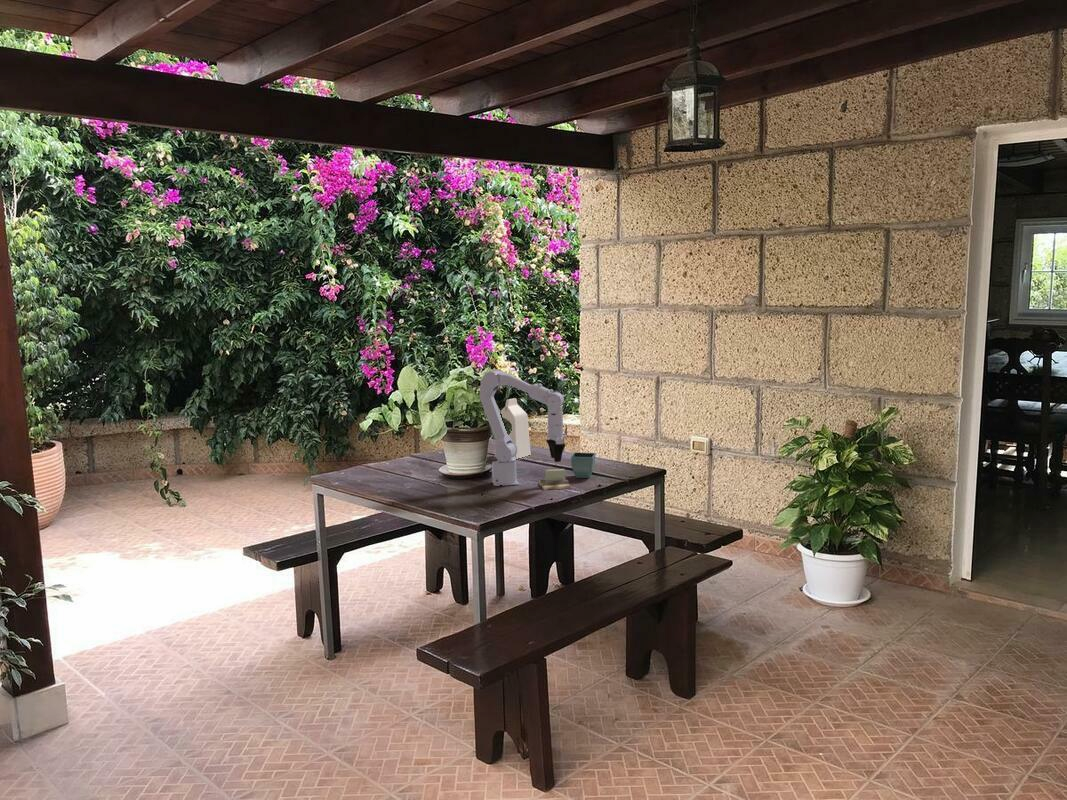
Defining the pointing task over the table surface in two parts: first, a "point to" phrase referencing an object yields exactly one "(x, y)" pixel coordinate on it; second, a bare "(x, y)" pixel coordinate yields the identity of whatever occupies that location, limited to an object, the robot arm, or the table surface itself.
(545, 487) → the track board
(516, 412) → the milk
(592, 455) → the flower pot
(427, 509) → the table surface
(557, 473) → the pale green block
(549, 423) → the robot arm
